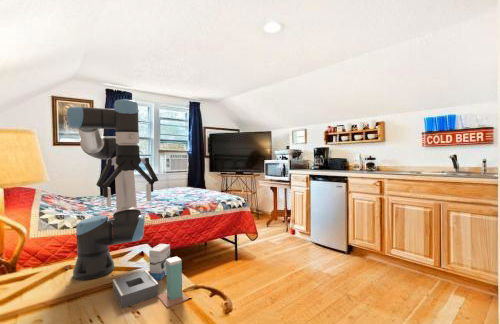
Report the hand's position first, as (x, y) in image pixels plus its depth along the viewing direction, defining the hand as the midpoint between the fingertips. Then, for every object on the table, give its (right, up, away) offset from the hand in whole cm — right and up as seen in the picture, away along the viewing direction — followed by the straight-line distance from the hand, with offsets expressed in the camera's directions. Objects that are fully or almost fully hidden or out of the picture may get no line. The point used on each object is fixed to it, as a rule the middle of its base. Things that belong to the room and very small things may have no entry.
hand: (129, 203), depth 94 cm
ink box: (+6, -32, +14) cm, 36 cm away
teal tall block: (+17, -32, -3) cm, 36 cm away
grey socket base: (+2, -32, 0) cm, 33 cm away
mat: (+17, -32, -3) cm, 37 cm away
